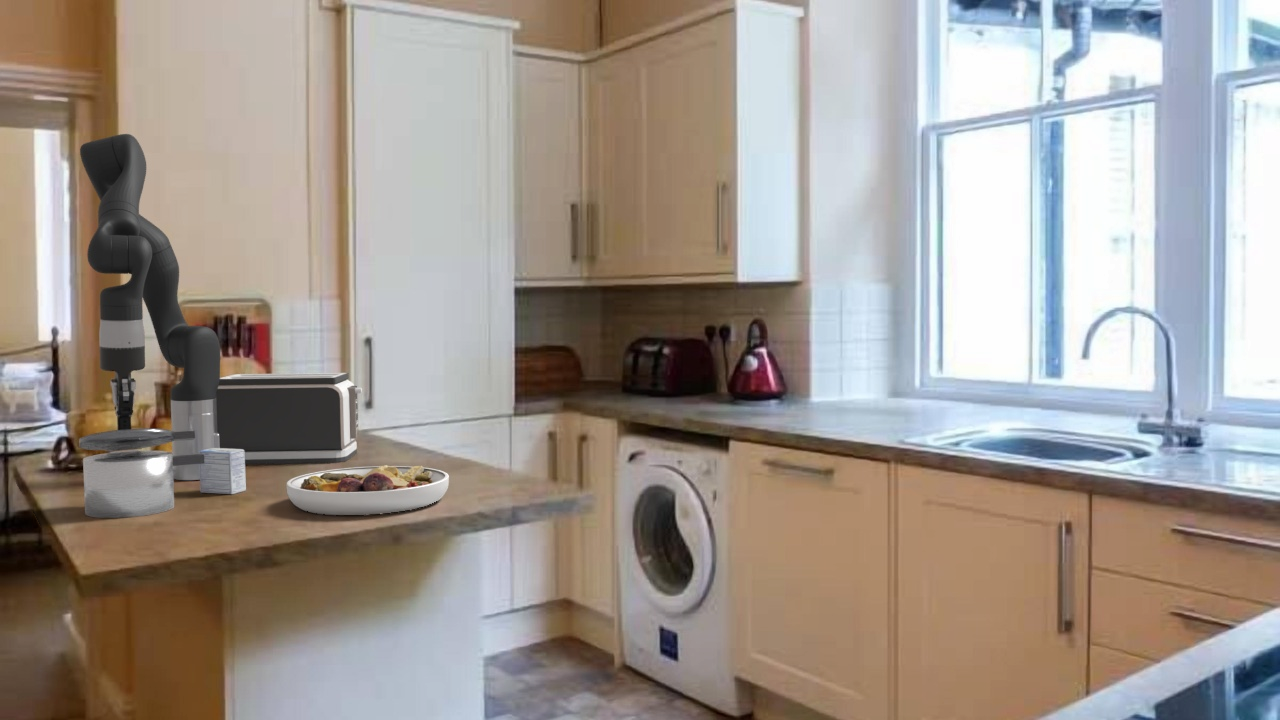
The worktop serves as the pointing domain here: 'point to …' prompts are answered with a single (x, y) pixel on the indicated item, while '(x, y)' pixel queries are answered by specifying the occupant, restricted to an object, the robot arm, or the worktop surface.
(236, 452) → the medicine box
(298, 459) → the toaster
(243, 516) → the worktop surface
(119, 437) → the lid
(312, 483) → the bowl
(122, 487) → the cooker pot
